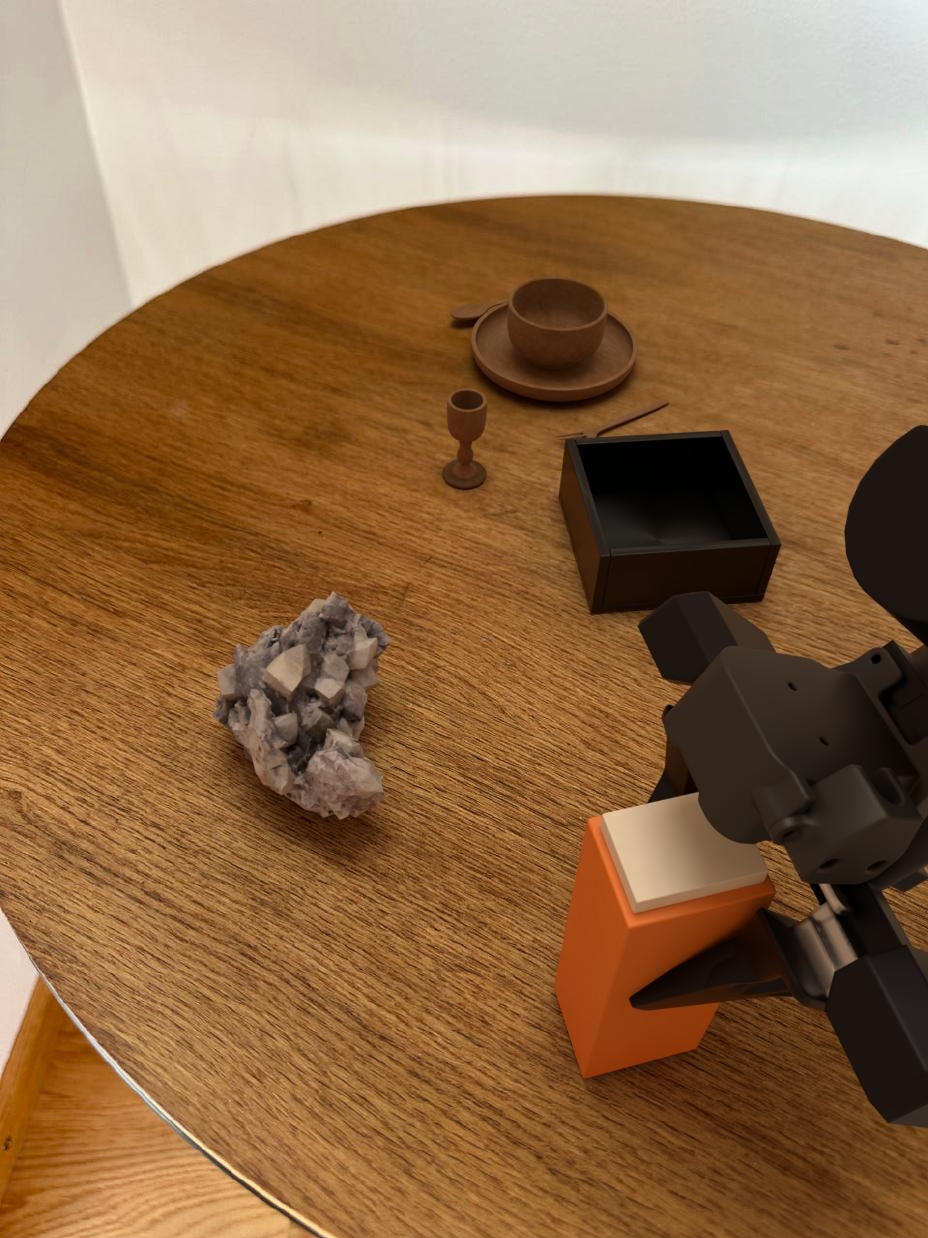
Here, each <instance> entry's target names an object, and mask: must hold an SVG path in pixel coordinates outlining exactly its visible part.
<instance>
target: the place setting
mask: <svg viewBox="0 0 928 1238" xmlns="http://www.w3.org/2000/svg"><path fill="white" fill-rule="evenodd" d="M449 315H450V317H451V318H453V319H454V320H457V321H473V320H476V319H478V320H477V321H476V322H475V324H474V326H473V328H472V331H471V335H470V345H471V346H470V347H471V352H472V356H473V358H474V361H475V363H476V365H477V366H478V368H479V369H480V370H481V372H482V373H483V374H484V375H485V376H486V377H487V378H488V379H490V381H492V382H493V383H494V384H496V385H497V386H499V387H501V388H503V389H504V390H506V391H509V392H510V393H513V394H516V395H519V396H522V397H524V398H528V399H532V400H538V401H545V402H554V403H555V402H562V403H563V402H564V403H565V402H573V401H574V402H575V401H581V400H582V401H583V400H587V399H591V398H594V397H597V396H600V395H603V394H605V393H607V392H609V391H611V390H612V389H614V388H616V387H617V386H619V385H620V384H621V383H622V382H624V380H626V378H627V377H628V376H629V374H630V373H631V372H632V370H633V368H634V366H635V365H636V364H635V363H636V360H637V355H638V352H639V351H638V348H639V347H638V345H639V344H638V341H637V337H636V335H635V333H634V331H633V329H631V327H630V326H629V325H628V324H627V323H626V322H625V321H624V320H623V319H622V318H621V317H620V316H618V315H617V314H615V313H613V312H612V311H610V310H609V302H608V300H607V298H606V296H605V295H604V294H603V293H602V292H601V291H600V290H599V289H597V288H596V287H595V286H594V285H591V284H589V283H587V282H585V281H583V280H579V279H577V278H573V277H572V278H571V277H566V276H555V275H553V276H551V275H550V276H539V277H534V278H531V279H528V280H526V281H524V282H521V283H519V285H517V286H516V287H514V288H513V289H512V291H511V292H510V293H509V296H508V297H505V298H502V299H501V298H500V299H498V300H495V301H491V302H490V301H489V302H486V303H485V302H484V303H465V304H460V305H458V306H456V307H455V308H453V309H452V310H451V312H450V314H449ZM446 399H447V400H446V423H447V430H448V432H449V434H450V436H451V437H452V438H453V439H455V441H458V445H459V448H458V449H457V452H456V459H454V460H451V461H450V462H448V463H447V464H446V465H445V466H444V467H443V470H442V477H443V480H444V481H445V482H446V483H447V484H448V485H449V486H452V487H453V488H457V489H461V490H468V489H473V488H476V487H479V486H480V485H482V484H483V483H484V482H485V480H486V478H487V470H486V468H485V466H484V465H483V464H481V463H480V462H479V461H477V460H474V457H475V455H474V451H473V449H472V445H473V442H476V441H477V440H478V439H480V437H481V436H482V435H483V434H484V431H485V428H486V424H487V423H486V422H487V415H488V413H487V412H488V398H487V396H486V394H484V392H482V391H481V390H479V389H476V388H472V387H461V388H457V389H455V390H452V391H451V392H450V393H449V394H448V395H447V398H446ZM669 403H670V401H669V400H667V399H664V400H660V401H658V402H655V403H652V404H650V405H647V406H644V407H642V408H639V409H637V410H634V411H632V412H630V413H628V414H627V413H626V414H624V415H622V416H620V417H617V418H615V419H613V420H609V421H607V422H605V423H603V424H600V425H598V426H596V427H594V428H592V429H584V430H580V431H576V432H570V433H564V434H557V435H555V436H554V438H558V439H557V441H561V442H560V444H565V440H566V439H576V438H594V437H598V435H599V434H600V433H601V432H603V431H605V430H608V429H611V428H613V427H616V426H618V425H620V424H621V425H622V424H624V423H627V422H629V421H631V420H634V419H636V418H638V417H642V416H644V415H646V414H648V413H651V412H653V411H656V410H658V409H661V408H662V407H665V406H666V405H668V404H669Z"/></svg>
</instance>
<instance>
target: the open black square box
mask: <svg viewBox="0 0 928 1238" xmlns="http://www.w3.org/2000/svg"><path fill="white" fill-rule="evenodd" d="M564 442H565V443H564V448H563V455H562V456H563V457H562V465H561V473H560V480H559V488H558V489H559V490H558V499H559V503H560V507H561V510H562V511H561V512H562V514H563V518H564V521H565V525H566V528H567V533H568V536H569V540H570V543H571V546H572V550H573V554H574V558H575V561H576V565H577V569H578V573H579V576H580V579H581V583H582V587H583V591H584V594H585V598H586V601H587V605H588V609H589V612H590V614H593V615H594V614H604V613H606V614H607V613H618V612H619V613H620V612H632V611H645V610H646V611H647V610H648V611H649V610H655V609H656V608H658V607H659V606H660V605H661V604H663V603H664V602H665V601H667V600H668V599H669V598H670V597H672V596H674V595H679V594H685V593H691V592H702V591H708V592H710V593H711V594H712V595H714V596H715V597H716V598H718V599H719V600H721V601H722V602H723V603H725V604H726V605H729V604H740V603H741V604H742V603H755V602H762V601H764V597H765V595H766V591H767V588H768V586H769V582H770V580H771V578H772V575H773V572H774V568H775V565H776V563H777V559H778V556H779V553H780V550H781V547H782V541H781V539H780V538H779V535H778V533H777V530H776V529H775V527H774V525H773V522H772V520H771V517H770V515H769V513H768V511H767V510H766V507H765V505H764V503H763V501H762V499H761V496H760V494H759V492H758V490H757V488H756V486H755V483H754V482H753V479H752V477H751V475H750V473H749V471H748V469H747V467H746V464H745V462H744V460H743V458H742V455H741V454H740V451H739V449H738V447H737V445H736V442H735V440H734V439H733V436H732V435H731V432H730V430H729V429H720V430H718V429H717V430H703V431H702V430H701V431H700V430H699V431H685V432H667V433H650V434H649V433H648V434H632V435H631V434H630V435H616V436H615V435H613V436H597V437H594V438H586V437H580V438H575V439H566V440H564Z"/></svg>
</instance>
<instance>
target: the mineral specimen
mask: <svg viewBox="0 0 928 1238" xmlns="http://www.w3.org/2000/svg"><path fill="white" fill-rule="evenodd" d="M392 641H393V640H392V639H391V637H390V635H388V633H386V632H385V629H384V627H383V626H382V624H380V623H379V622H377V621H376V620H374V619H370V618H369V617H368V616H366V615H364V614H363V613H358V612H357V611H356V610H355V609H354V608H353V607H352V606H351V604H350V603H349V599H348V598H345V597H344V596H341V595H340V594H338V593H337V592H335V591H334V590H332V591H331V593H330V595H329V596H327V598H326V599H322V598H315V599H313V600H312V602H311V603H310V604H309V605H308V606H307V607H306V608H305V609H304V610H302V611H301V613H300V615H299V616H297V618H296V619H294V620H293V621H292V622H291V623H290V624H289V625H288V626H284V625H281V624H276V625H275V624H274V625H271V626H270V627H269V628H267V630H265V631H262V632H261V633H260V635H259V638H258V640H257V642H255V643H254V644H253V645H252V646H250V647H248V648H246V647H245V646H243V645H241V644H240V643H237V645H236V646H235V648H234V650H233V651H234V652H233V663H231V664H228V665H226V666H224V667H222V668H221V669H219V670H217V671H216V676H217V685H218V689H219V692H220V693H219V695H218V696H217V697H216V698H215V703H214V706H215V707H216V709H214V710H213V711H212V712H211V713H210V716H212V717H213V718H214V719H215V720H216V722H218V723H220V724H221V725H223V726H224V727H225V728H226V729H227V730H228V731H229V732H232V733H233V735H234V736H235V737H234V739H235V740H236V741H237V742H238V743H239V744H241V745H242V748H243V751H244V752H243V753H244V755H245V759H246V760H247V761H250V762H252V763H253V767H254V770H255V773H256V775H257V777H258V779H259V780H260V782H261V783H262V785H263V786H269V788H270V789H271V790H272V791H273V792H275V793H277V794H278V795H280V796H283V795H284V796H285V797H286V798H288V799H289V800H290V801H292V802H294V803H296V804H297V805H299V806H300V807H301V808H302V809H304V810H305V811H308V812H315V813H319V815H320V817H322V818H323V819H325V818H327V817H330V816H332V815H335V816H336V817H337V818H338V820H342V819H345V818H347V817H349V816H350V817H353V818H358V817H359V816H361V815H363V814H364V813H366V812H367V811H368V810H371V809H373V808H376V807H379V806H380V805H381V803H382V801H383V800H384V797H386V794H387V793H386V792H385V791H384V788H383V780H384V776H383V775H382V774H381V772H380V771H379V770H378V768H377V767H376V766H375V764H374V763H373V762H372V761H371V759H369V758H368V757H367V756H365V755H364V749H363V747H362V745H361V743H360V742H359V739H360V735H361V733H362V732H363V731H364V729H365V710H366V709H365V708H366V704H368V703H367V702H368V701H369V700H368V696H369V695H368V692H370V691H371V690H374V689H375V688H378V687H379V684H380V680H379V677H378V676H377V673H379V671H380V668H379V663H378V659H379V657H380V656H381V655H382V654H383V653H384V652H385V650H386V649H387V648H388V646H389V645H390V643H391V642H392Z"/></svg>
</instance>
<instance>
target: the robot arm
mask: <svg viewBox="0 0 928 1238" xmlns="http://www.w3.org/2000/svg"><path fill="white" fill-rule="evenodd" d="M843 533H844V547H845V549H844V550H845V556H846V558H847V561H848V564H849V567H850V570H851V573H852V575H853V578H854V579H855V581H856V583H857V584H858V585H859V587H860V588H861V590H862V591H863V592H864V593H865V594H866V595H867V596H868V597H870V598H871V599H872V600H873V601H874V602H875V603H877V605H878V606H880V607H881V608H882V609H883V610H885V611H886V612H887V613H888V614H889V615H890V616H891V617H892V618H893V619H895V620H896V621H897V622H898V623H899V624H900V625H902V627H904V628H905V629H906V630H907V631H908V632H909V633H911V634H912V636H914V637H915V638H916V639H917V640H919V642H920V643H922V644H921V645H920V646H919V647H917V648H916V649H914V650H913V651H911V652H908V651H907V650H906V649H904V647H902V646H901V644H899V643H897V641H895V640H894V639H892V640H890V641H888V642H887V643H886V644H884V645H883V646H875V647H873V648H869V650H867V651H866V652H864V653H863V654H861V655H860V656H859V657H857V658H856V659H854V660H852V661H848V662H845V663H843V664H840V665H837V666H833V667H832V668H830V667H827V666H826V665H824V664H823V663H820V662H819V661H817V660H815V659H813V658H810V657H807V656H801V655H795V654H787V653H782V652H777V651H776V648H775V647H774V645H773V644H772V642H771V641H770V639H769V637H768V636H767V634H766V632H765V631H764V630H762V629H761V628H759V627H758V626H757V625H755V624H754V623H752V622H751V621H750V620H749V619H747V618H746V617H744V616H743V615H741V614H740V613H739V612H737V610H735V609H733V608H732V607H730V606H729V604H725V603H723V602H722V601H721V600H719V599H718V598H716V597H715V596H714V595H712V594H711V593H710V592H708V591H702V592H691V593H685V594H679V595H674V596H672V597H670V598H669V599H668V600H667V601H665V602H664V603H663V604H661V605H660V606H659V607H658V608H656V609H653V610H652V611H651V612H650V613H648V614H647V615H645V617H643V618H642V619H641V620H640V621H639V622H638V624H637V629H638V631H639V633H640V635H641V637H642V639H643V641H644V643H645V645H646V647H647V649H648V651H649V653H650V655H651V657H652V660H653V662H654V664H655V666H656V668H657V670H658V672H659V674H660V676H661V678H662V679H663V680H665V681H667V682H668V683H670V684H675V685H679V686H680V685H681V686H688V687H689V688H688V689H687V690H686V691H685V692H684V694H682V696H681V697H680V699H679V700H678V701H677V702H676V703H675V704H674V705H673V704H666V705H665V707H664V708H663V710H662V713H661V717H660V718H661V723H662V725H663V728H664V732H665V734H666V735H665V736H666V739H665V760H664V768H663V771H662V774H661V776H660V778H659V780H658V781H657V783H656V785H655V787H654V789H653V791H652V792H651V794H650V796H649V798H648V800H647V801H646V803H645V804H648V803H653V802H657V801H662V800H666V799H670V798H675V797H679V796H684V795H688V794H693V793H697V792H699V796H698V802H699V805H700V807H701V809H702V811H703V814H704V815H705V817H706V819H707V820H708V822H709V823H710V824H711V826H712V827H713V828H714V829H715V830H716V831H717V832H719V833H720V834H721V835H723V836H724V837H726V838H727V839H729V840H732V841H734V842H737V843H742V844H756V845H757V844H759V843H762V842H772V843H773V844H774V845H775V846H781V847H783V848H784V850H785V853H786V854H787V856H788V858H789V861H790V862H791V864H792V866H793V868H794V870H795V871H796V873H797V875H798V877H799V879H800V881H801V883H806V884H808V885H809V887H810V889H811V890H812V892H813V894H814V896H815V898H816V901H817V903H818V904H819V906H818V907H816V908H813V910H811V911H809V912H808V916H806V917H805V918H803V919H802V920H797V919H795V918H792V917H789V916H787V915H784V914H781V913H778V912H776V911H774V910H771V909H769V908H768V909H766V908H763V907H761V908H759V909H758V910H757V911H756V913H755V914H754V916H753V917H752V919H751V920H750V922H749V923H748V924H747V926H746V927H745V929H744V930H743V932H742V933H740V934H739V935H737V936H736V937H734V938H732V939H730V940H728V941H726V942H724V943H722V944H720V945H718V946H716V947H714V948H712V949H710V950H708V951H706V952H704V953H702V954H700V955H698V956H696V957H694V958H692V959H690V960H688V961H686V962H684V963H682V964H680V965H678V966H676V967H674V968H672V969H670V970H669V971H667V972H666V973H664V974H663V975H661V976H660V977H658V978H657V979H655V980H654V981H652V982H651V983H650V984H648V985H647V986H645V987H644V988H642V989H641V990H639V991H638V992H637V993H635V994H634V995H632V996H631V997H630V998H629V1001H630V1004H631V1006H632V1008H635V1009H640V1010H645V1011H650V1010H659V1009H667V1008H676V1007H684V1006H693V1005H702V1004H710V1003H719V1002H720V1003H726V1002H734V1001H744V1000H753V999H764V998H794V999H795V1000H796V1001H797V1002H798V1003H799V1004H800V1005H801V1006H803V1007H805V1008H808V1009H810V1010H811V1009H812V1010H815V1011H819V1012H824V1013H825V1015H826V1016H827V1018H828V1021H829V1023H830V1025H831V1027H832V1029H833V1031H834V1033H835V1035H836V1037H837V1040H838V1041H839V1043H840V1046H841V1047H842V1049H843V1051H844V1053H845V1055H846V1058H847V1060H848V1061H849V1064H850V1066H851V1068H852V1070H853V1072H854V1074H855V1076H856V1078H857V1080H858V1083H859V1084H860V1086H861V1088H862V1090H863V1093H864V1095H865V1096H866V1099H867V1101H868V1102H869V1103H870V1105H871V1106H872V1107H873V1108H874V1109H875V1110H876V1112H878V1114H879V1115H880V1116H881V1117H882V1119H883V1120H884V1121H885V1122H886V1123H887V1124H891V1125H900V1126H907V1127H913V1128H914V1127H915V1128H923V1129H928V952H927V951H924V950H921V949H919V948H917V947H914V946H913V944H912V942H911V941H910V939H909V937H908V935H907V933H906V932H905V930H904V928H903V927H902V924H901V923H900V921H899V919H898V917H897V915H896V914H895V912H894V910H893V909H892V907H891V905H890V904H889V901H888V900H887V898H886V896H885V894H884V893H883V892H884V891H886V890H887V889H888V888H893V889H895V890H897V891H899V892H901V893H902V894H903V893H906V892H908V891H910V890H912V889H913V888H915V887H917V886H919V885H920V884H922V883H923V882H925V881H927V880H928V872H927V870H926V869H925V867H927V866H928V425H927V424H919V425H916V426H914V427H913V428H911V429H910V430H909V431H907V432H906V433H904V434H902V435H901V436H900V437H898V438H897V439H896V440H895V441H894V442H892V443H891V444H890V445H889V446H888V447H887V448H886V449H885V450H884V451H883V452H882V453H881V454H880V455H879V456H878V457H877V458H876V459H875V460H874V461H873V463H872V464H871V466H870V467H869V468H868V470H867V471H866V473H865V474H864V475H863V477H862V478H861V479H860V481H859V482H858V485H857V487H856V489H855V492H854V494H853V495H852V498H851V500H850V503H849V505H848V508H847V514H846V519H845V524H844V530H843Z"/></svg>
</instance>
